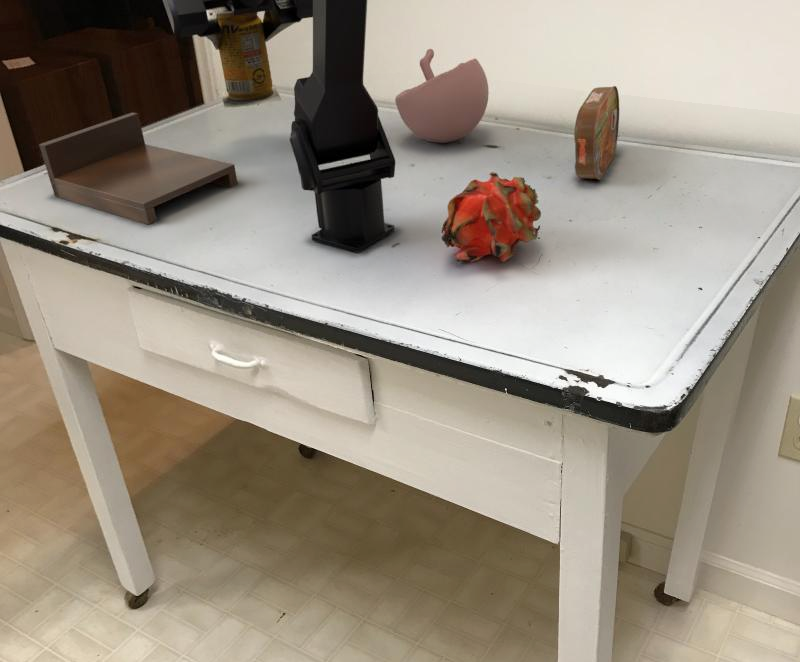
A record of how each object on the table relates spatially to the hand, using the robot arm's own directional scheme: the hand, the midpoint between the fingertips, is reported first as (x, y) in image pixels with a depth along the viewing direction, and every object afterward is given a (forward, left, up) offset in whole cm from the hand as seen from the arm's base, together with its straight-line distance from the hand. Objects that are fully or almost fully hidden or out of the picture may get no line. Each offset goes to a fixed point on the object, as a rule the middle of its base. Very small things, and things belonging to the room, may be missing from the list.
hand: (240, 42), depth 110 cm
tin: (-44, -13, -13) cm, 48 cm away
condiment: (-1, +1, -7) cm, 7 cm away
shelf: (0, +19, -13) cm, 23 cm away
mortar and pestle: (-22, -13, -13) cm, 29 cm away
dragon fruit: (-46, +14, -13) cm, 50 cm away
